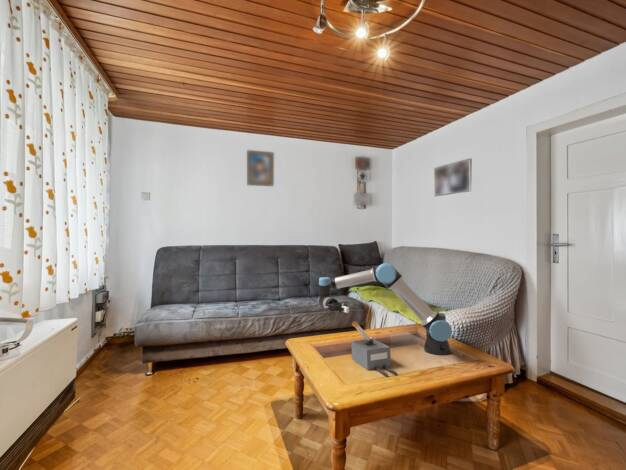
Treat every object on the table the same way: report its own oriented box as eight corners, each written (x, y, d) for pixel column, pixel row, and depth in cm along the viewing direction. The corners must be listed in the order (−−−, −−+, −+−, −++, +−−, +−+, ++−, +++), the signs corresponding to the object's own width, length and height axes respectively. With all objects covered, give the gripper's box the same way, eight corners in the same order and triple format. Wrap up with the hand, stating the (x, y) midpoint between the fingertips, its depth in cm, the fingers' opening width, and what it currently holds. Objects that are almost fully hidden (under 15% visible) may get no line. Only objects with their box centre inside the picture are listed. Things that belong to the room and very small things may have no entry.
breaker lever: (368, 343, 159) (350, 323, 157) (370, 339, 160) (353, 320, 158) (371, 344, 156) (353, 324, 154) (374, 341, 157) (356, 321, 155)
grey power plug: (352, 359, 163) (351, 341, 164) (373, 356, 168) (372, 338, 169) (379, 378, 136) (378, 356, 137) (404, 374, 140) (402, 352, 141)
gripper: (341, 309, 174) (359, 316, 151) (321, 311, 170) (336, 318, 147) (340, 297, 174) (358, 302, 152) (320, 298, 170) (336, 303, 148)
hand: (347, 310), depth 150 cm, fingers closed
